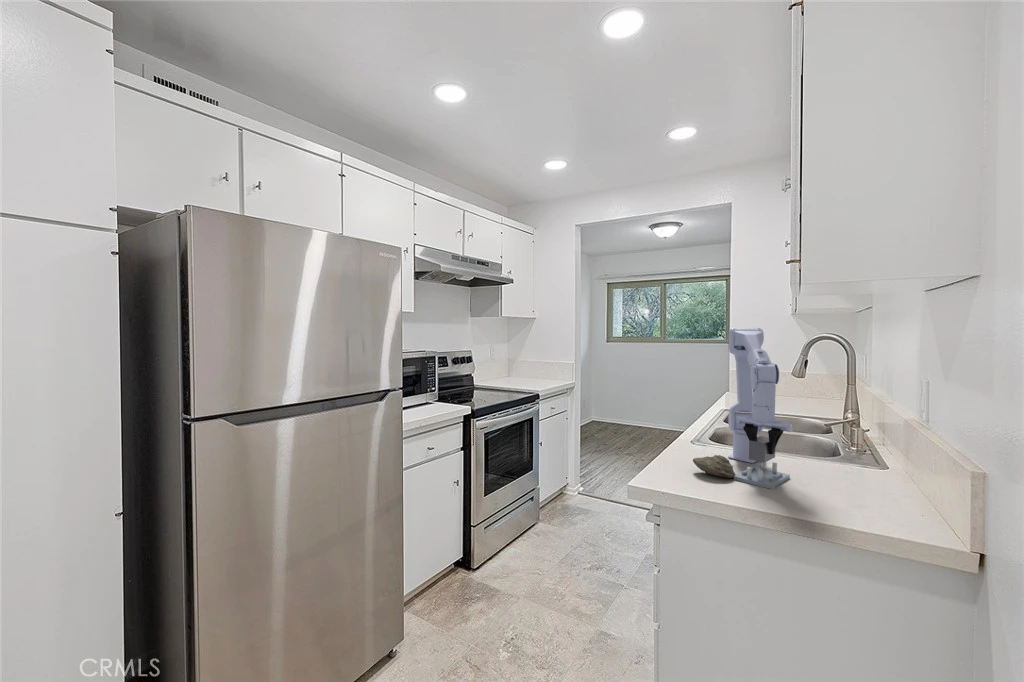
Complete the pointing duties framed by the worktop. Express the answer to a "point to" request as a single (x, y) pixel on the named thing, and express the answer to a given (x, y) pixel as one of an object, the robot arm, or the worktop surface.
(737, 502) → the worktop surface
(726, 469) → the fossilized seashell
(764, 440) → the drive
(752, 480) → the grey pegged plate
